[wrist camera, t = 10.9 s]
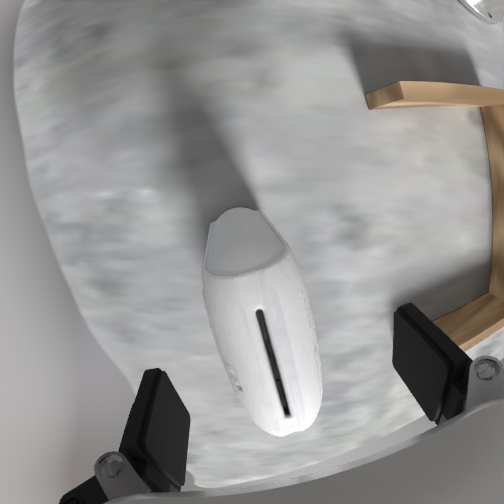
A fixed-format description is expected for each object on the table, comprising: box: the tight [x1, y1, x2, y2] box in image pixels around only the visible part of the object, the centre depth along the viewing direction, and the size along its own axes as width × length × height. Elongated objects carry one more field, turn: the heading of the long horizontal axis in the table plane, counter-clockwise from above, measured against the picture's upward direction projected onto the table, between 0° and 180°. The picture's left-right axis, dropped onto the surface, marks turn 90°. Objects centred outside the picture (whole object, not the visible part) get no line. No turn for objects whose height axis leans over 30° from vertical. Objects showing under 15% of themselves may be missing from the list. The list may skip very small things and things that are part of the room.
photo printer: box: [202, 207, 322, 436], centre depth 16 cm, size 10×4×12 cm, turn 14°
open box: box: [365, 81, 504, 352], centre depth 20 cm, size 23×16×5 cm
